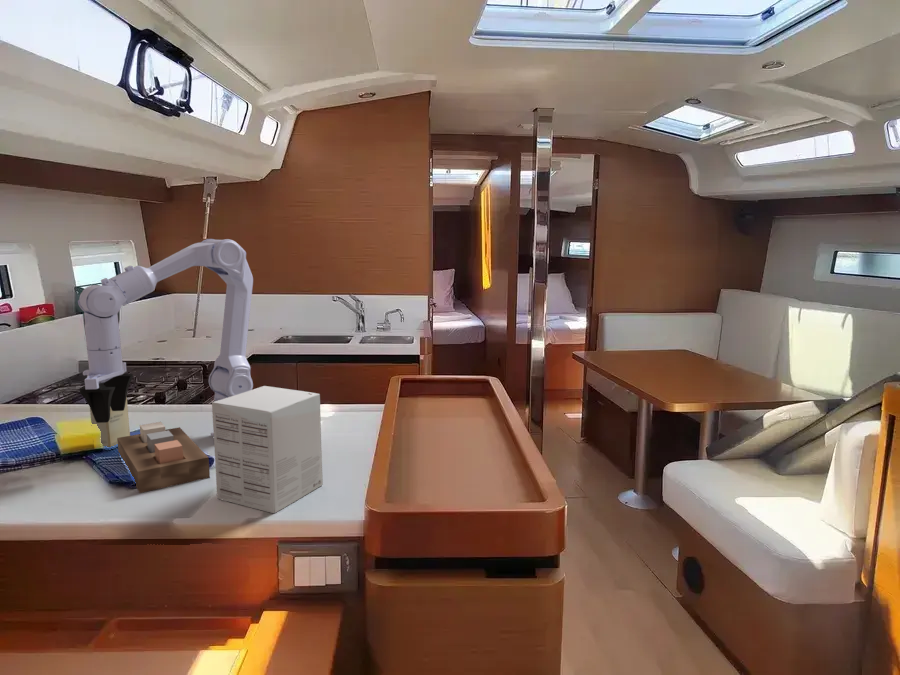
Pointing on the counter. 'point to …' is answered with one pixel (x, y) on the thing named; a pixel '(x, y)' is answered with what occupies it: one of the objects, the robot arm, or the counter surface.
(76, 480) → the counter surface
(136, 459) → the console
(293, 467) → the supplement box
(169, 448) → the key terracotta
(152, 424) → the key ivory
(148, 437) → the key slate
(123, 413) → the skincare box
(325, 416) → the counter surface
